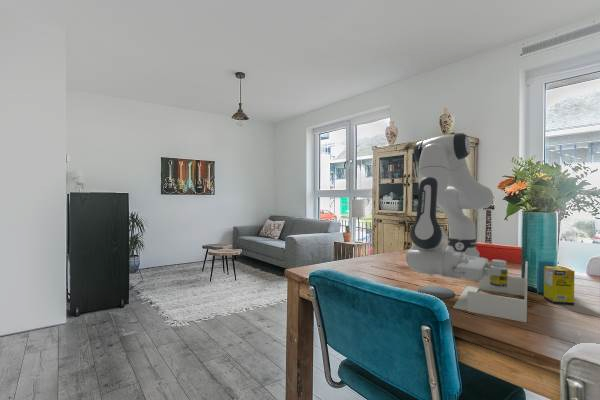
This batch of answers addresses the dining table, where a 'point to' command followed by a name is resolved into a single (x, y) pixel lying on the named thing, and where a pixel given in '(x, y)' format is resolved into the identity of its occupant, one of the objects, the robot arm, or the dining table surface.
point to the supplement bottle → (499, 280)
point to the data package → (542, 274)
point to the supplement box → (559, 285)
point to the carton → (497, 299)
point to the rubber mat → (437, 291)
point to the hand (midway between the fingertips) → (501, 270)
